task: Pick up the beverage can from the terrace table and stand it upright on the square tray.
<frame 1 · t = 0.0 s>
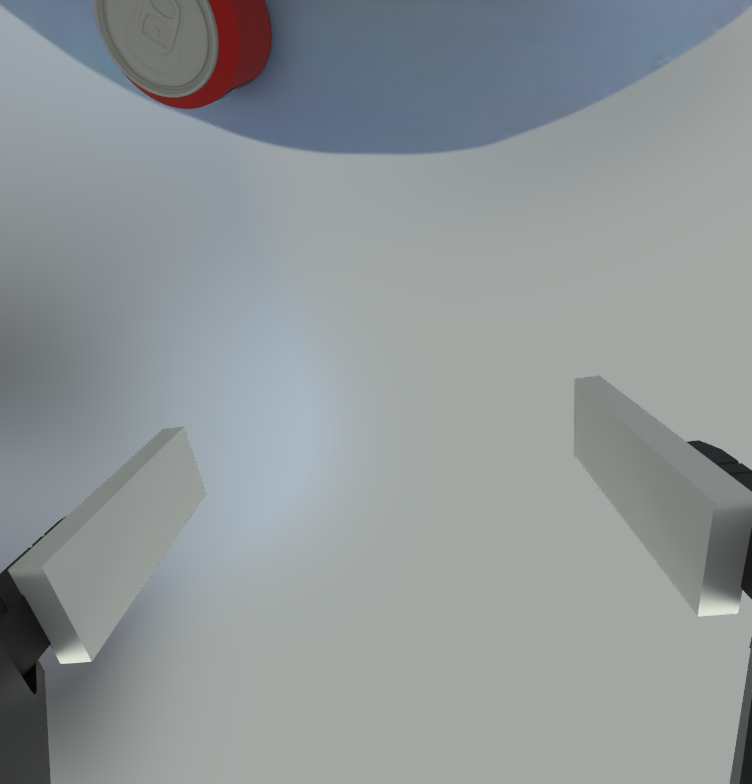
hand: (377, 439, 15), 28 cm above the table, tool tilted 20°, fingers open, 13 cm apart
beverage can: (223, 25, 30), on the table
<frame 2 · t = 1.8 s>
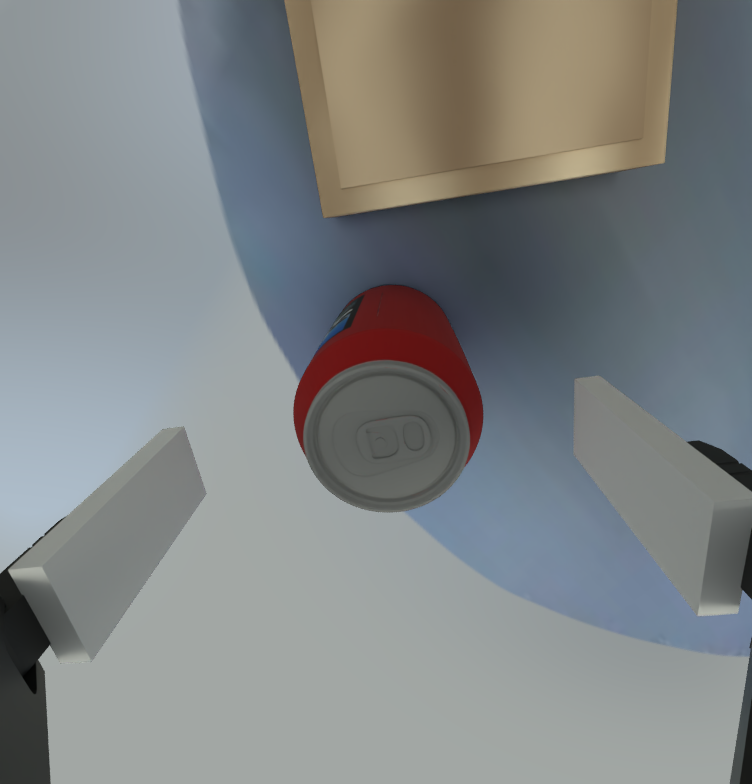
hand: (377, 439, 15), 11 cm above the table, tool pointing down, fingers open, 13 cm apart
square tray: (462, 24, 20), on the table
beverage can: (392, 341, 25), on the table
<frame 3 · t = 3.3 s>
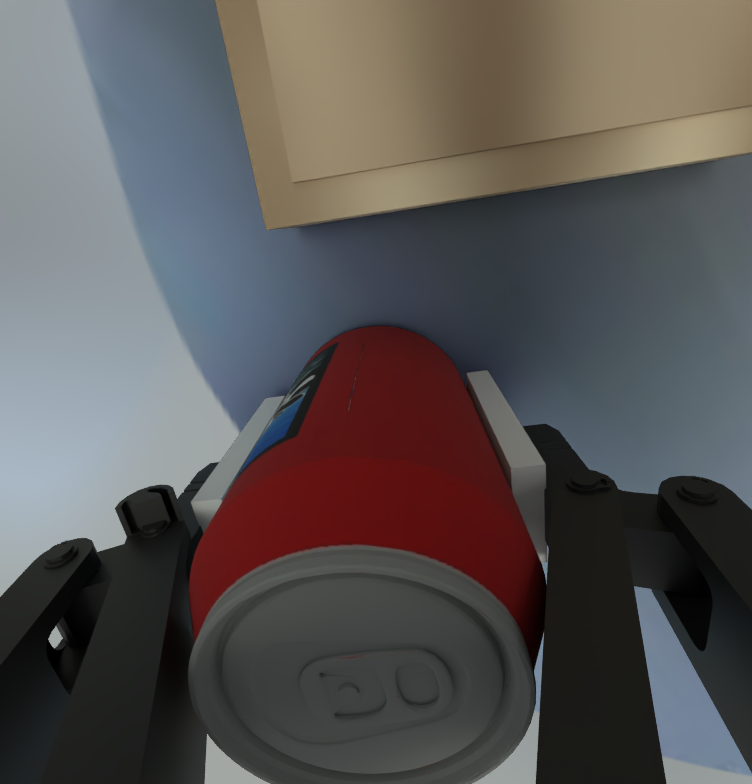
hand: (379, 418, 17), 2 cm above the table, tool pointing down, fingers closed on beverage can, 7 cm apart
beverage can: (380, 400, 18), on the table, touching gripper
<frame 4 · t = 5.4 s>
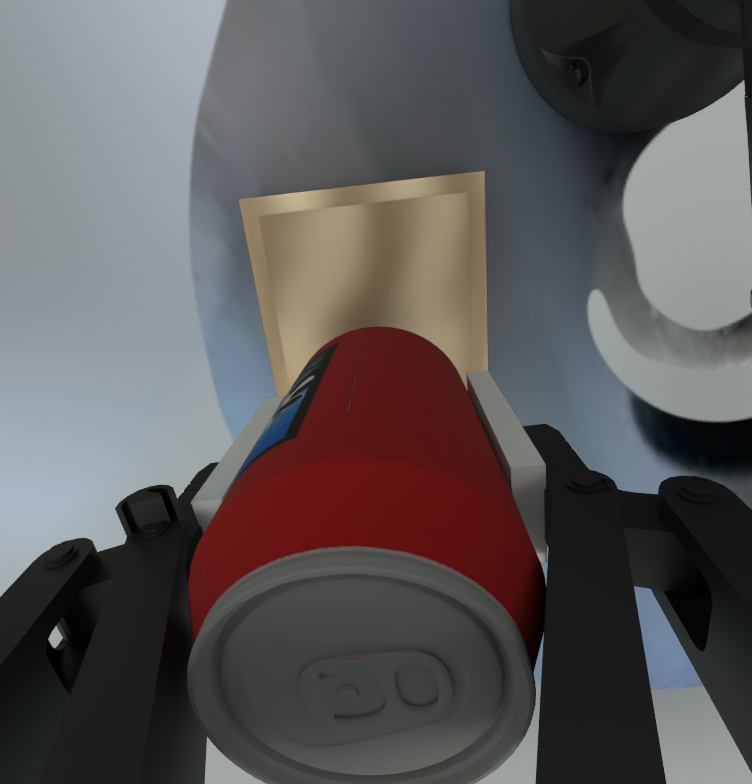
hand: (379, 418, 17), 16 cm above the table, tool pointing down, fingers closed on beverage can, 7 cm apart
square tray: (374, 298, 31), on the table
beverage can: (380, 400, 18), point 15 cm above the table, touching gripper
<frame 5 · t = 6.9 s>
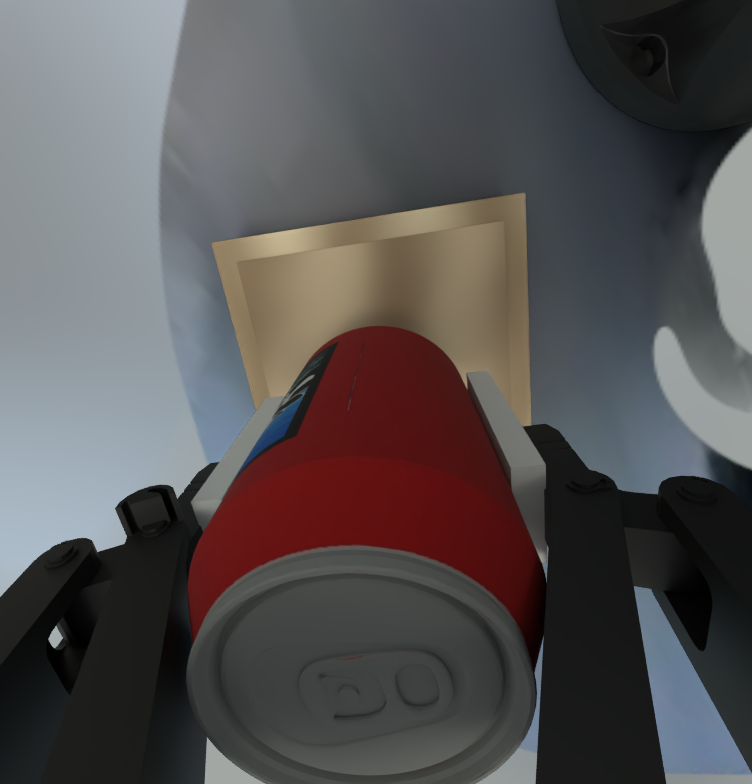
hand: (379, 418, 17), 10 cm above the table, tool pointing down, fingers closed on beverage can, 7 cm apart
square tray: (386, 346, 26), on the table
beverage can: (380, 400, 18), point 8 cm above the table, touching gripper
when the fingers open (7 cm above the table, at t = 7.8 s): beverage can drops 1 cm, resting on square tray.
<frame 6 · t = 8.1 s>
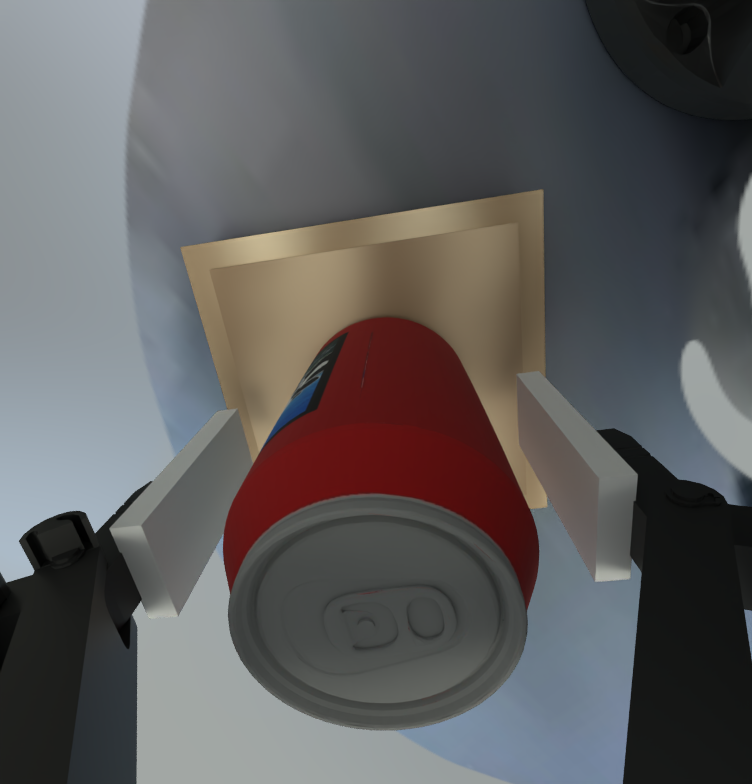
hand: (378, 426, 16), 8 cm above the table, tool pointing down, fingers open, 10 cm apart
square tray: (383, 362, 23), on the table
beverage can: (387, 388, 19), point 4 cm above the table, touching square tray
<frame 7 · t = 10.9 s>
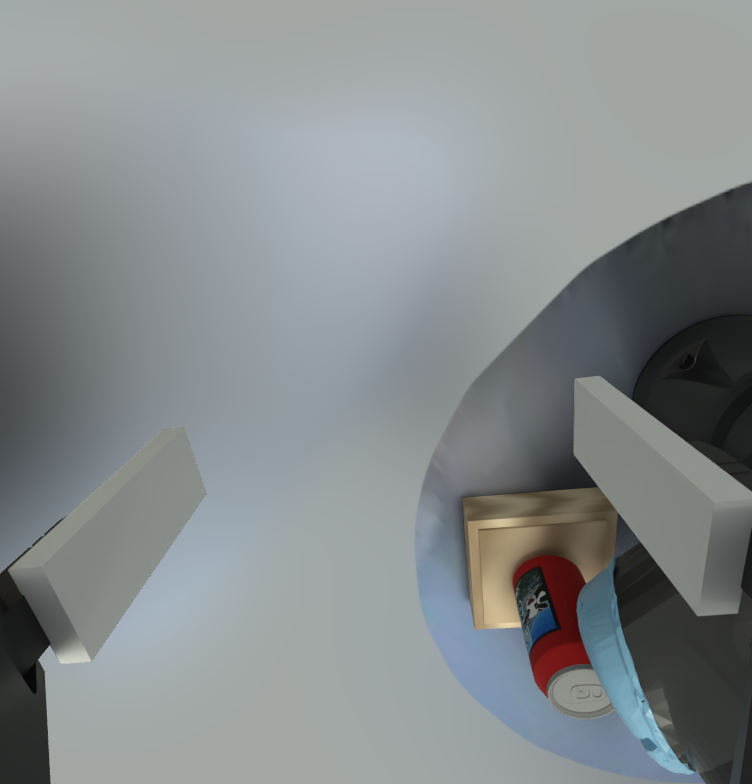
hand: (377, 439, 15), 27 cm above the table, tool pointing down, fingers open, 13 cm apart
square tray: (530, 547, 48), on the table
beverage can: (544, 575, 44), point 4 cm above the table, touching square tray
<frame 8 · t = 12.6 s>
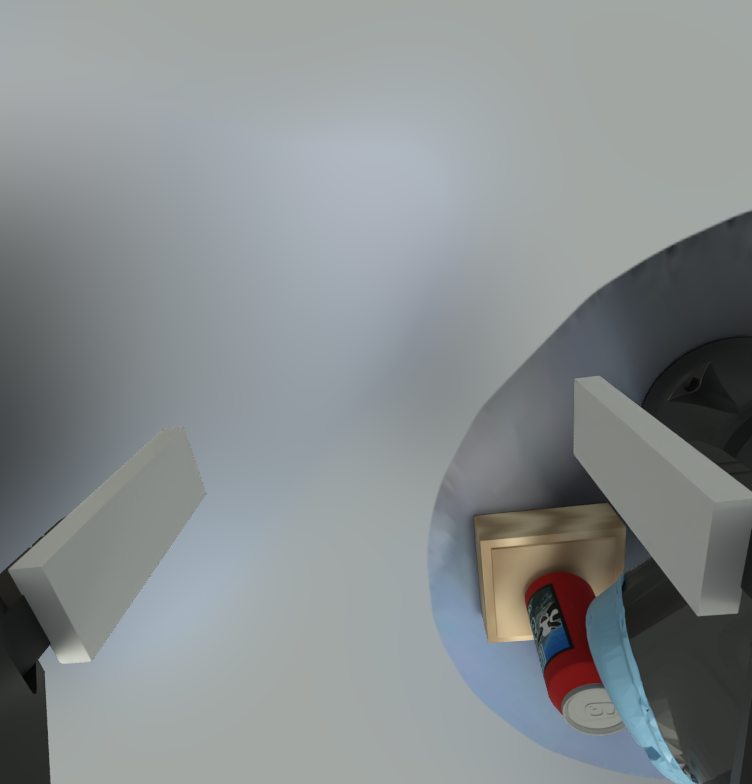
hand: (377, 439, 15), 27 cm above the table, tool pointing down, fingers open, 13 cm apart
square tray: (540, 561, 50), on the table
beverage can: (556, 590, 46), point 4 cm above the table, touching arm, square tray
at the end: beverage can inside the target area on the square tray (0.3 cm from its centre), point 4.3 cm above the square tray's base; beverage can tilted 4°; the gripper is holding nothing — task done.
